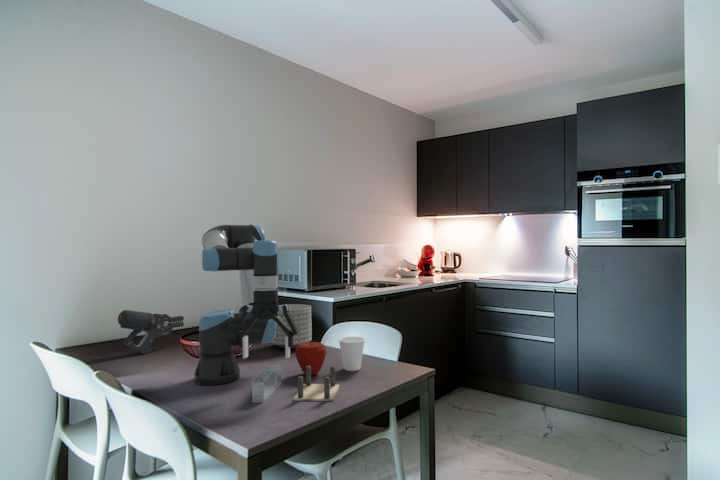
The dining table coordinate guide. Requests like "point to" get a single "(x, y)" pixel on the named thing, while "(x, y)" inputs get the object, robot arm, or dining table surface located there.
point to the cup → (352, 352)
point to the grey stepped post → (266, 383)
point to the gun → (147, 328)
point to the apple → (311, 356)
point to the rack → (317, 388)
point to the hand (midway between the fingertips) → (266, 357)
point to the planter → (302, 321)
